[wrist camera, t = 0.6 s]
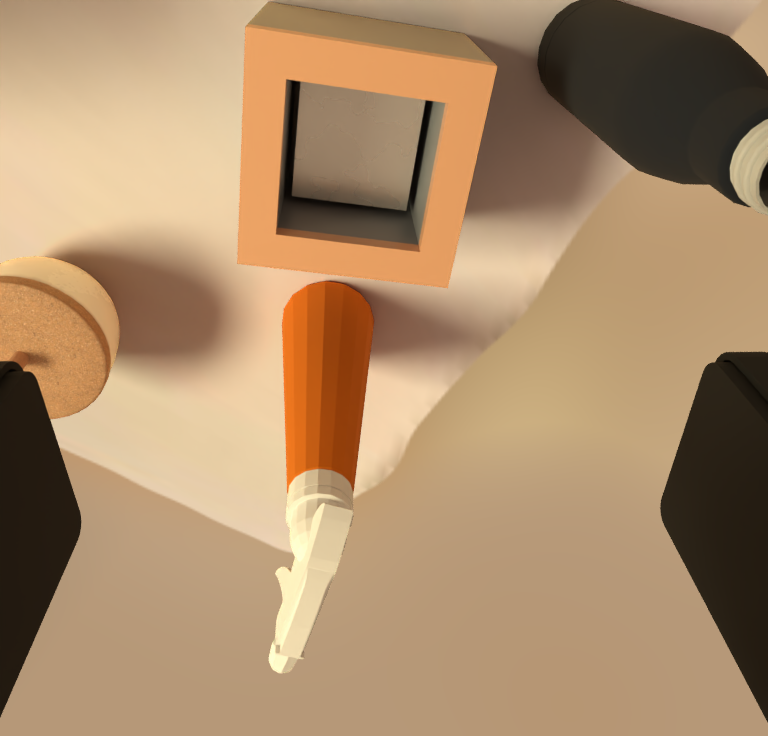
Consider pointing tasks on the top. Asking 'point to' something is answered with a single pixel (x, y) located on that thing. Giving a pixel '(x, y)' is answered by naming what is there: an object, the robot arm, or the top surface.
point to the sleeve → (374, 74)
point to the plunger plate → (355, 146)
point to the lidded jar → (58, 330)
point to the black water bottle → (663, 95)
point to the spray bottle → (319, 448)
